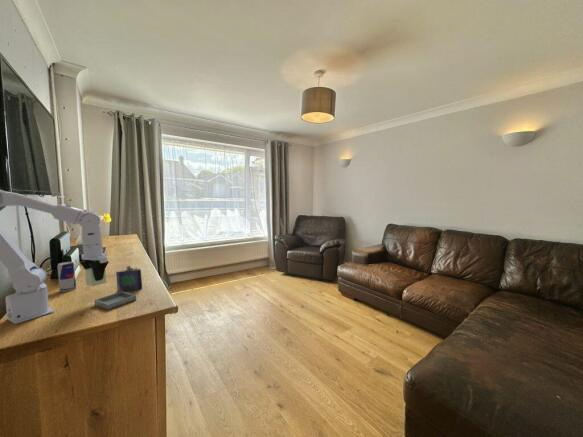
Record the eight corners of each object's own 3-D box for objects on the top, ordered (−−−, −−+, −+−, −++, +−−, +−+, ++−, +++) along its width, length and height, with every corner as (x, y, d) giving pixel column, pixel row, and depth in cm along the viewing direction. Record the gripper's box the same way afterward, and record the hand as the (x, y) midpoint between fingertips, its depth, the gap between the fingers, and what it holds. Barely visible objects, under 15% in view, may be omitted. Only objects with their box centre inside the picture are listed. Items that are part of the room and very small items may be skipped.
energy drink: (72, 290, 104) (70, 264, 103) (57, 292, 102) (54, 265, 101) (78, 286, 109) (76, 261, 108) (63, 288, 107) (61, 262, 106)
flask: (116, 292, 101) (114, 267, 101) (119, 290, 104) (117, 266, 103) (141, 289, 104) (139, 265, 104) (143, 287, 107) (141, 264, 106)
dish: (108, 310, 85) (107, 304, 85) (94, 305, 89) (94, 300, 89) (136, 300, 93) (136, 295, 93) (122, 295, 98) (122, 291, 98)
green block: (92, 286, 89) (90, 270, 88) (86, 284, 91) (84, 269, 90) (106, 282, 93) (104, 267, 92) (100, 280, 95) (98, 266, 94)
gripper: (114, 243, 91) (117, 278, 92) (95, 241, 97) (98, 273, 98) (92, 247, 84) (96, 284, 85) (73, 244, 91) (76, 279, 92)
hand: (95, 279), depth 91 cm, fingers closed on green block, 4 cm apart
